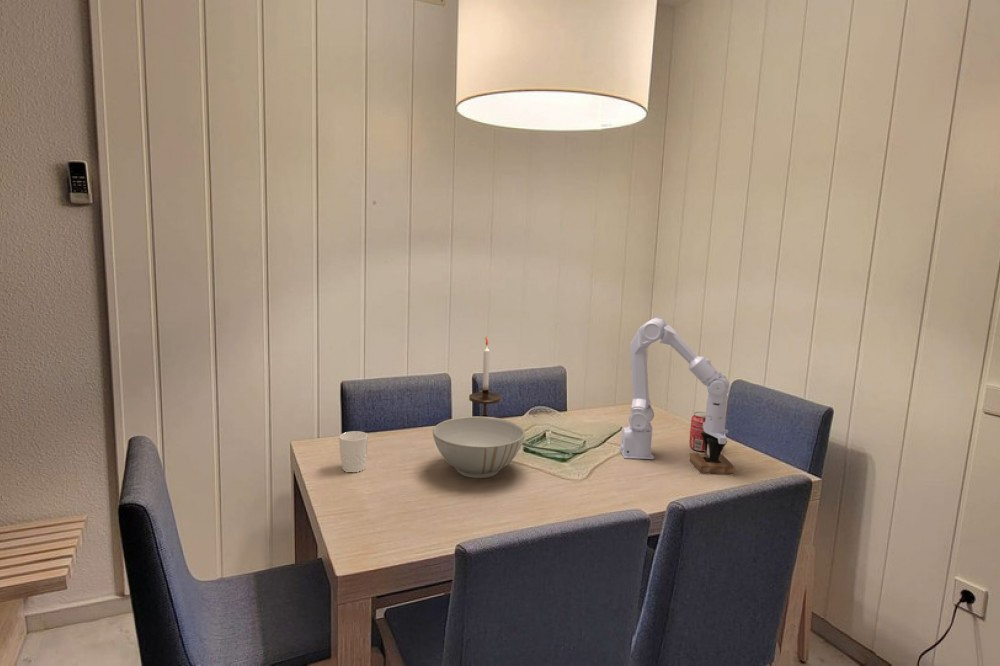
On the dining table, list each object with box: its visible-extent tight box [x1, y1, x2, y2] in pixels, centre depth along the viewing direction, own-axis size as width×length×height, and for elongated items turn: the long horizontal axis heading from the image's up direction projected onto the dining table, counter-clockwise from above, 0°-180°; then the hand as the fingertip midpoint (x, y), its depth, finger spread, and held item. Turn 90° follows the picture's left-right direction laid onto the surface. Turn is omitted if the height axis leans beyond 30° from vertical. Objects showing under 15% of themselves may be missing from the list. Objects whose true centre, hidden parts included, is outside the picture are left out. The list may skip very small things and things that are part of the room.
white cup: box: [339, 430, 368, 473], centre depth 169 cm, size 8×8×10 cm
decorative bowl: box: [432, 415, 526, 479], centre depth 171 cm, size 27×27×12 cm
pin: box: [706, 444, 716, 463], centre depth 178 cm, size 3×3×6 cm
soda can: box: [688, 411, 706, 452], centre depth 194 cm, size 7×7×12 cm
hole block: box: [688, 452, 735, 475], centre depth 179 cm, size 10×10×2 cm
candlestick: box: [468, 335, 502, 417], centre depth 197 cm, size 11×11×35 cm
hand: (711, 458), depth 179 cm, fingers closed on pin, 3 cm apart
